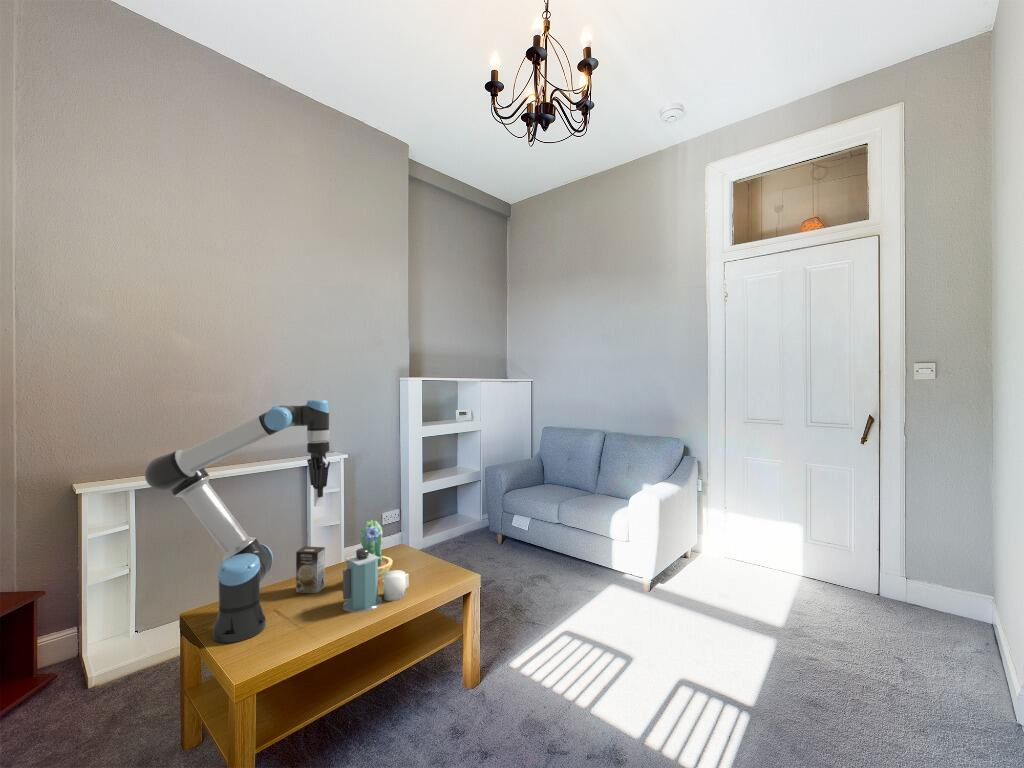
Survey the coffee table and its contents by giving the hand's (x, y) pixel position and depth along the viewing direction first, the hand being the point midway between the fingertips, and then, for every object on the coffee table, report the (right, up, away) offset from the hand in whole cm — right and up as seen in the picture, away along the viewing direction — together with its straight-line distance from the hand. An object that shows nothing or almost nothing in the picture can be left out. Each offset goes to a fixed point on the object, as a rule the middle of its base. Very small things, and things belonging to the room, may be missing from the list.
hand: (318, 505), depth 172 cm
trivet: (+17, -36, -1) cm, 40 cm away
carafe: (+16, -35, -2) cm, 39 cm away
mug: (+28, -36, +5) cm, 46 cm away
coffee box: (-8, -37, +13) cm, 40 cm away
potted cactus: (+15, -37, +19) cm, 44 cm away
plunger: (+17, -33, -1) cm, 36 cm away
